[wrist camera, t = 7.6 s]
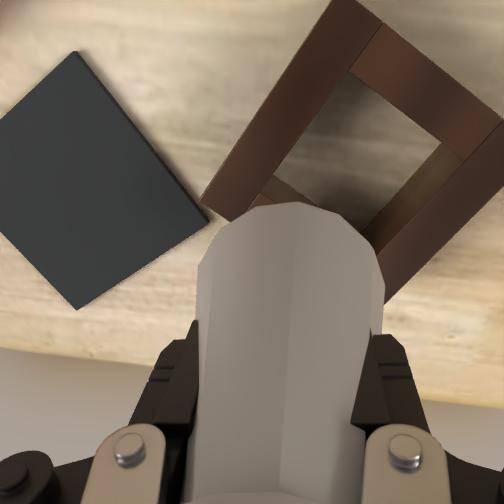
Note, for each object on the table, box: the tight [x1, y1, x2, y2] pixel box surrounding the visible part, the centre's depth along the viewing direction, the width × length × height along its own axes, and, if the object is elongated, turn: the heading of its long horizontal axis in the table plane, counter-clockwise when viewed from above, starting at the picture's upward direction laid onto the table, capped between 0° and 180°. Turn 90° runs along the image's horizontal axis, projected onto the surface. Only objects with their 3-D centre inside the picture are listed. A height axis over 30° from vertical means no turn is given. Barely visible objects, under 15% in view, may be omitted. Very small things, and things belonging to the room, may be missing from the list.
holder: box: [199, 0, 504, 305], centre depth 26 cm, size 12×12×4 cm
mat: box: [0, 51, 209, 310], centre depth 31 cm, size 13×13×1 cm
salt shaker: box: [179, 202, 385, 504], centre depth 11 cm, size 6×6×13 cm
